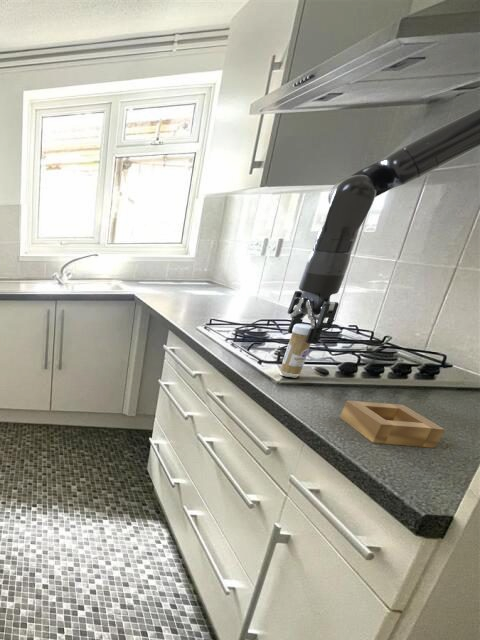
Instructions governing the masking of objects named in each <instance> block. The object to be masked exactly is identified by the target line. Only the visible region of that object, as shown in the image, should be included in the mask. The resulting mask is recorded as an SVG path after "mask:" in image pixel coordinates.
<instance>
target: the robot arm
mask: <svg viewBox="0 0 480 640" xmlns="http://www.w3.org/2000/svg"><path fill="white" fill-rule="evenodd" d="M479 147H480V108H478V109H476V110H474V111H471V112H469V113H467V114H465V115H463V116H460V117H459V118H455V119H454V120H452V121H450V122H448V123H446V124H444V125H441V126H439V127H438V128H436V129H434V130H432V131H430V132H428V133H426V134H424V135H422V136H420V137H419V138H416V139H415V140H413V141H411V142H409V143H408V144H405V145H404V146H402V147H400V148H398V149H397V150H395V151H394V152H392V153H390V154H389V155H387V156H386V157H384V158H382V159H380V160H379V161H377V162H374V163H372V164H370V165H368V166H366V167H364V168H362V169H360V170H358V171H356V172H354V173H352V174H350V175H348V176H345V177H344V178H342V179H340V180H339V181H338V182H336V183H335V184H334V185H333V186H332V188H331V189H330V191H329V192H328V196H327V201H328V204H329V208H328V211H327V213H326V217H325V220H324V223H323V225H322V226H321V227H320V228H319V230H318V233H317V235H316V239H315V241H314V244H313V246H312V250H311V252H310V254H309V256H308V258H307V261H306V264H305V267H304V270H303V273H302V276H301V279H300V282H299V284H298V289H299V290H294V293H293V295H292V298H291V302H290V304H289V306H288V310H287V314H288V315H290V318H291V320H290V322H289V326H288V329H287V333H288V334H291V335H292V330H293V327H294V325H295V324H303V322H304V321H303V319H304V318H305V316H307V318H308V320H309V321H310V325H311V328H310V330H309V333H308V336H307V338H306V342H307V343H308V344H310V345H312V344H313V345H316V344H318V343H319V340H320V337H321V335H322V332H323V330H325V329H331V328H332V326H333V322H334V320H335V317H336V315H337V311H338V308H339V305H340V304H339V302H338V301H336V302H335V301H331V297H332V295H336V294H338V293H339V292H340V289H341V286H342V283H343V281H344V278H345V275H346V273H347V270H348V267H349V264H350V260H351V255H352V252H353V249H354V247H355V244H356V242H357V239H358V235H359V231H360V230H361V229H360V228H361V227H362V225H363V223H364V221H365V220H366V218H367V216H368V214H369V213H370V209H371V208H372V206H373V203H374V201H375V198H376V197H378V196H380V195H382V194H384V193H386V192H388V191H390V190H393V189H394V188H397V187H401V186H403V185H406V184H408V183H411V182H414V181H415V180H417V179H419V178H421V177H423V176H426V175H427V174H430V173H431V172H433V171H435V170H438V169H439V168H441V167H443V166H445V165H446V164H449V163H451V162H452V161H454V160H456V159H458V158H460V157H462V156H464V155H466V154H468V153H470V152H472V151H474V150H476V149H478V148H479ZM326 319H327V320H326Z"/></svg>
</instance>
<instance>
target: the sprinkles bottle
mask: <svg viewBox="0 0 480 640" xmlns="http://www.w3.org/2000/svg"><path fill="white" fill-rule="evenodd" d="M310 328H311V324H307V323H302V324H295V325H294V327H293V330H292V334H291V336H290V339H289V342H288V343H287V347H286V350H285V353H284V356H283V359H282V361H281V362H282V363H281V366H280V369H279V371H280V370H282V371H284V372H287V373H292V374H300V375H301V373H302V370H303V367H304V365H305V362H306V360H307V356H308V353H309V349H310V347H311V344H308V343H307V342H306V338H307V336H308V333H309V330H310Z"/></svg>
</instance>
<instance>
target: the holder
mask: <svg viewBox="0 0 480 640" xmlns="http://www.w3.org/2000/svg"><path fill="white" fill-rule="evenodd" d="M339 418H340V419H341V420H342V421H343V422H345V423H346V424H348V425H349V426H350V427H352V429H354V430H355V431H357V432H358V433H359V434H360V435H362V436H363V437H365V438H366V439H367V440H369V442H371V443H372V444H384V445H393V446H394V445H396V446H406V447H419V448H428V449H429V448H431V449H435V448H436V446H438V445H437V444H438V443H439V441H440V439H441V437H442V435H443V433H444V431H446V430H445V428H443V427H441V426H439V425H438V424H436V423H435V422H433V421H432V420H430V419H428V418H427V417H425V416H423V415H421V414H420V413H418V412H416V411H415V410H413V409H411V408H409V407H407V406H405V405H404V404H397V403H386V402H385V403H384V402H371V401H357V400H346V401H345V404H344V407H343V408H342V410H341V413H340V416H339Z"/></svg>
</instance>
